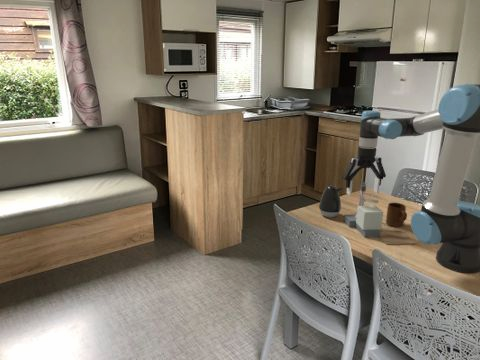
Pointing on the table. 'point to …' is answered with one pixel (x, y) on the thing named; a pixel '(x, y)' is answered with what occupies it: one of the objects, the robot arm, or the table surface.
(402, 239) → the mat
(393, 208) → the mug
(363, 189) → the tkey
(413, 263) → the table surface
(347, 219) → the housing
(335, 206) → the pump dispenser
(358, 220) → the light grey cube
